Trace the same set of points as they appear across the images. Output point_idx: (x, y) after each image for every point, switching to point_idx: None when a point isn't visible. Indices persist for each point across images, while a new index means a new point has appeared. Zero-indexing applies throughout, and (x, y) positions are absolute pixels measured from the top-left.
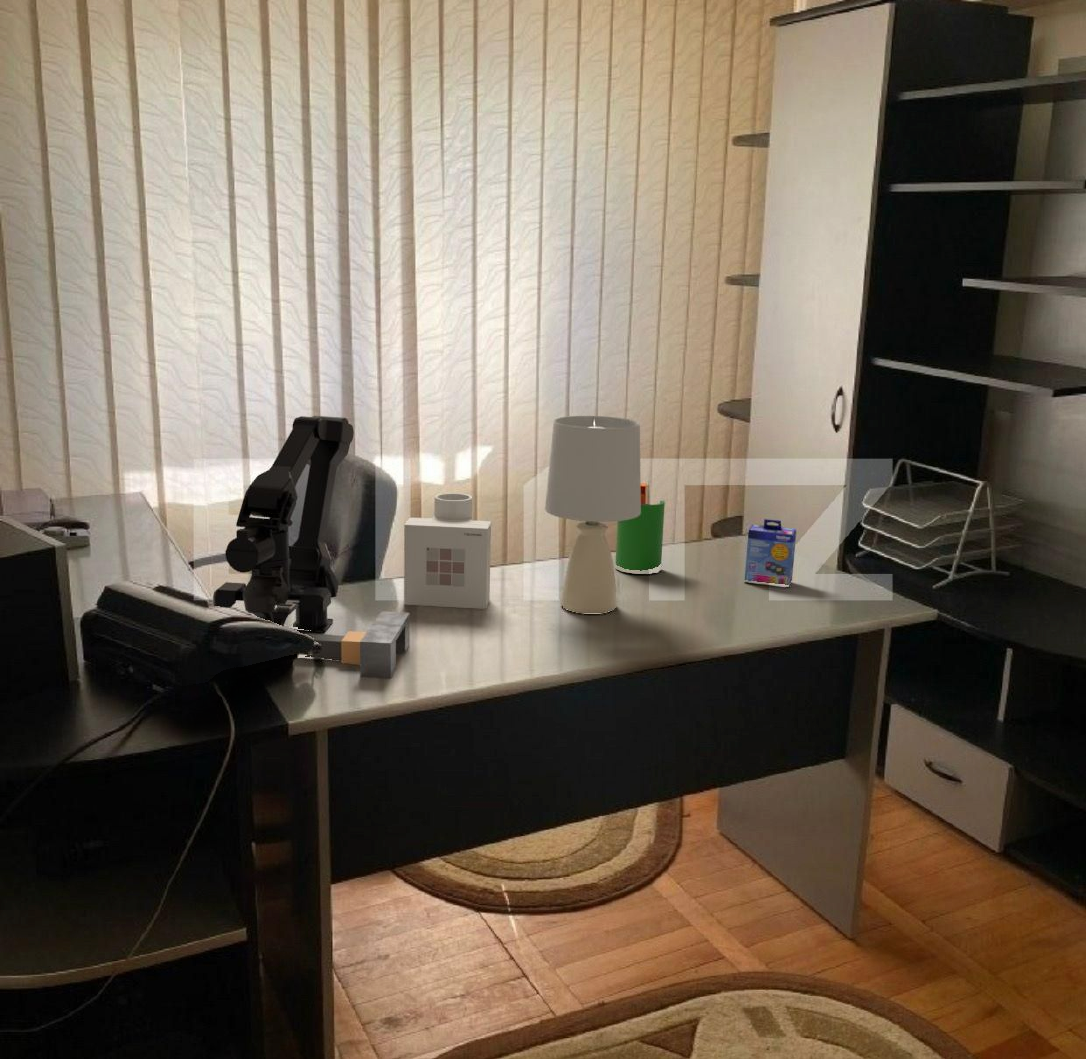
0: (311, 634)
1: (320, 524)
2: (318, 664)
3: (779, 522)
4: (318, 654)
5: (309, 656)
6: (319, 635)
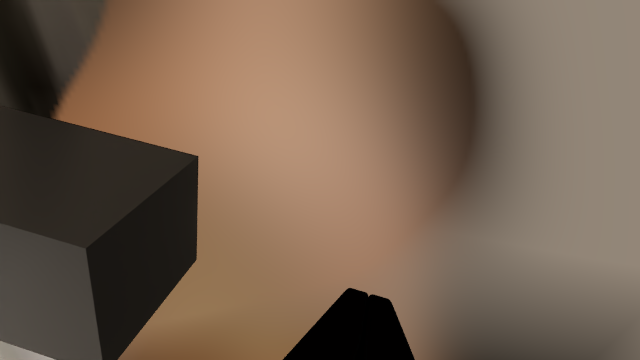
0: (12, 335)
1: None
2: (6, 16)
3: None
4: (9, 130)
5: (89, 139)
6: None
